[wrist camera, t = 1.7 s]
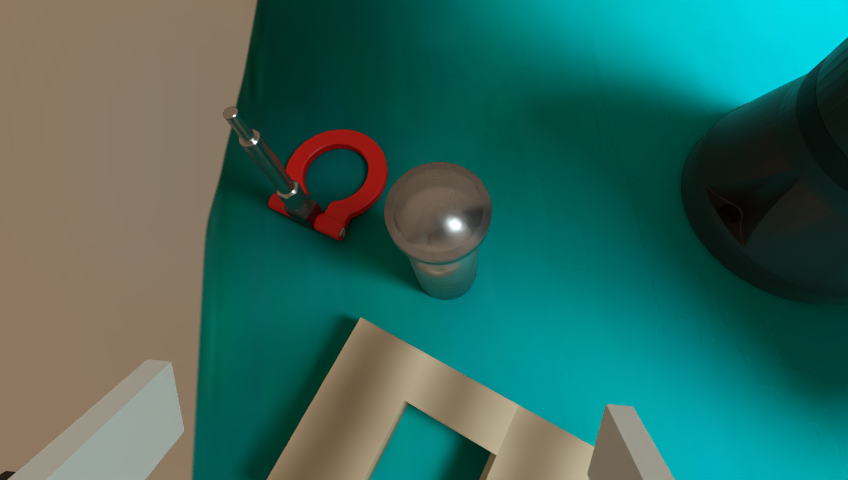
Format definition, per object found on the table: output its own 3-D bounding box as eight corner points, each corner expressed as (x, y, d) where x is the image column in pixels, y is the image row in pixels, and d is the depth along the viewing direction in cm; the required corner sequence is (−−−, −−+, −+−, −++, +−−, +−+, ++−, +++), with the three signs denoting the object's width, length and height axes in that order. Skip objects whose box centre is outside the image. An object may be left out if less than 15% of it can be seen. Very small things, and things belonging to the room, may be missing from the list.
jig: (586, 444, 25) (602, 451, 22) (506, 659, 22) (512, 699, 19) (370, 324, 29) (360, 317, 26) (275, 491, 26) (252, 504, 23)
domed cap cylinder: (493, 255, 30) (509, 186, 19) (461, 318, 28) (461, 279, 18) (431, 227, 31) (416, 147, 21) (398, 285, 30) (364, 231, 19)
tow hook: (323, 124, 36) (263, 208, 33) (260, -15, 24) (158, 96, 21) (406, 157, 34) (350, 249, 31) (382, 24, 22) (288, 153, 19)
